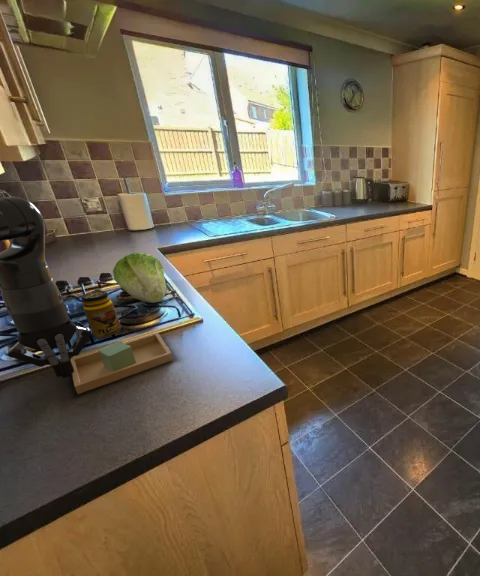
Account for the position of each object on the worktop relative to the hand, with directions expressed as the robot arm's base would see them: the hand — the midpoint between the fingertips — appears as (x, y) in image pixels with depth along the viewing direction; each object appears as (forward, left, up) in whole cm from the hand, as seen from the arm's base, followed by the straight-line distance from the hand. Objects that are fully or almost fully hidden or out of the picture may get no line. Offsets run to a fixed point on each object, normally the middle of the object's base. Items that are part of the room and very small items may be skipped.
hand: (66, 375), depth 71 cm
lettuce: (+24, +40, -3) cm, 47 cm away
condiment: (+9, +20, -3) cm, 22 cm away
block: (+9, 0, -2) cm, 9 cm away
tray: (+10, 0, -2) cm, 10 cm away
